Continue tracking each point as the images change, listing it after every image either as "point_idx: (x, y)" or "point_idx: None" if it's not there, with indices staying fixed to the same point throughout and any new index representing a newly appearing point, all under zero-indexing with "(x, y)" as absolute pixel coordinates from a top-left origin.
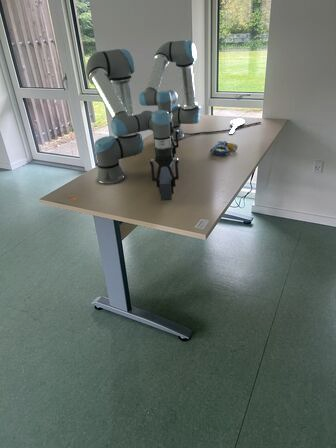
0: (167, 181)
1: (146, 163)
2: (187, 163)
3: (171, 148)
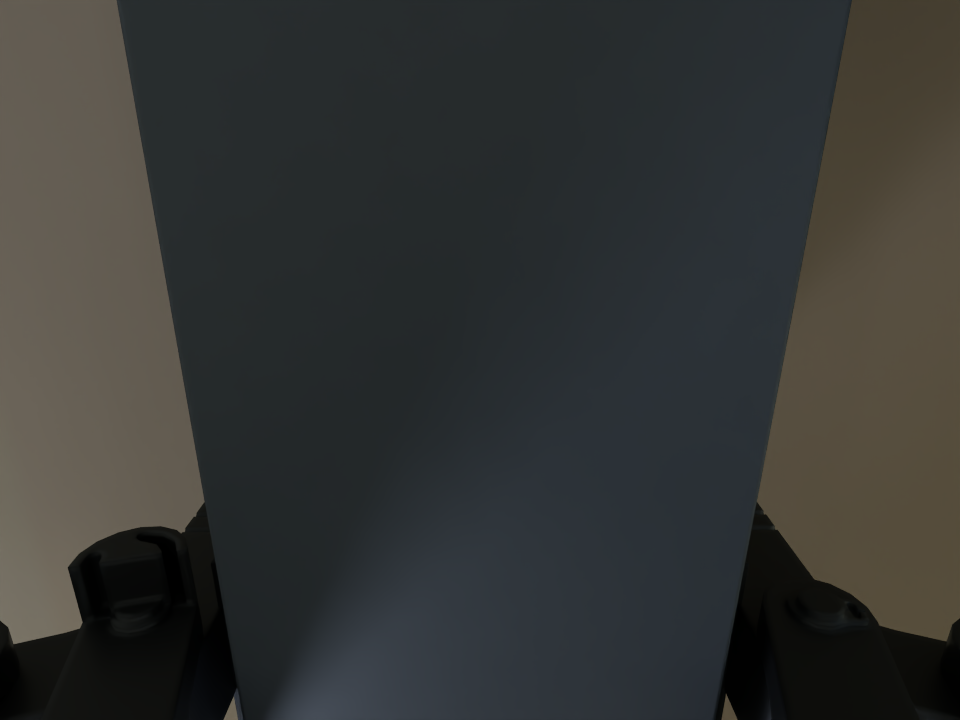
0: None
1: (956, 505)
2: (85, 363)
3: (237, 422)
